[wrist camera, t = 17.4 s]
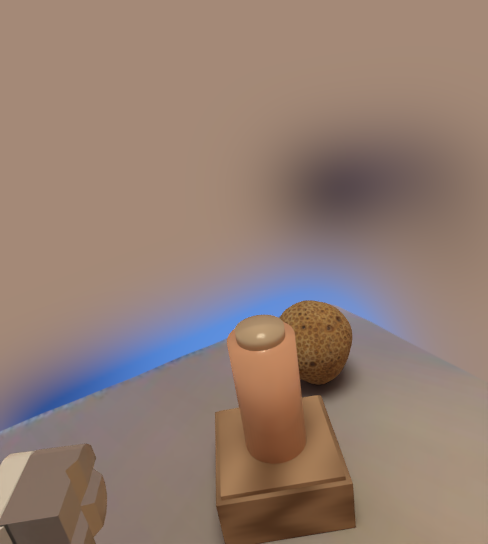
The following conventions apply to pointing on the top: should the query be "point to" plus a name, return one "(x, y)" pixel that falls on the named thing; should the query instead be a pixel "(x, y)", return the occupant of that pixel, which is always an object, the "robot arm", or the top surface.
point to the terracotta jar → (268, 388)
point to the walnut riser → (281, 483)
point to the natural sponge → (319, 339)
